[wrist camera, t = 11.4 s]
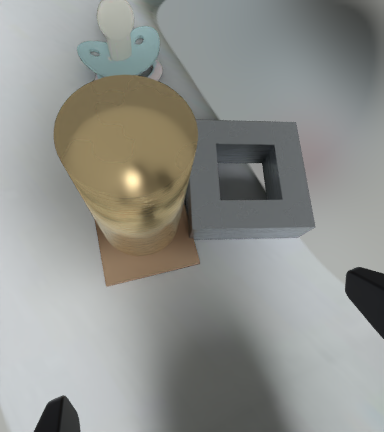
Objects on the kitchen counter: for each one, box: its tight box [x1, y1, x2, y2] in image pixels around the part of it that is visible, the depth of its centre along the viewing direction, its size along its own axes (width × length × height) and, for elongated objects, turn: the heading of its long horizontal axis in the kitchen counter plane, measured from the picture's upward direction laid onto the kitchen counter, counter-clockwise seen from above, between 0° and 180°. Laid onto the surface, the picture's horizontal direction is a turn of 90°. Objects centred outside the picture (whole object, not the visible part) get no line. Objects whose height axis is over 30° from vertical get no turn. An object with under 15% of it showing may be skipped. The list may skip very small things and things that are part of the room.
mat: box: [95, 204, 200, 286], centre depth 23 cm, size 7×7×1 cm
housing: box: [186, 120, 315, 240], centre depth 24 cm, size 9×9×3 cm
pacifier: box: [77, 0, 163, 81], centre depth 26 cm, size 7×6×6 cm
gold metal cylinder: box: [54, 75, 198, 256], centre depth 17 cm, size 5×5×13 cm
